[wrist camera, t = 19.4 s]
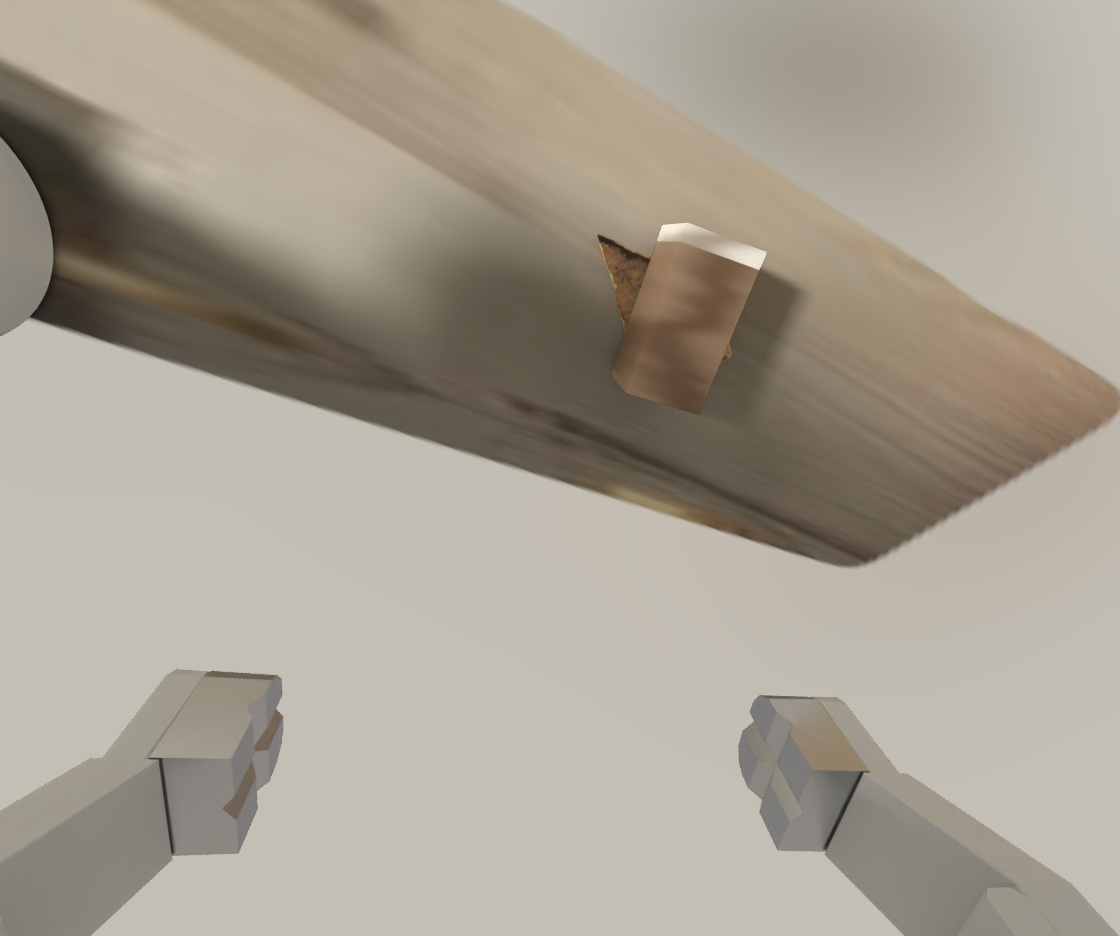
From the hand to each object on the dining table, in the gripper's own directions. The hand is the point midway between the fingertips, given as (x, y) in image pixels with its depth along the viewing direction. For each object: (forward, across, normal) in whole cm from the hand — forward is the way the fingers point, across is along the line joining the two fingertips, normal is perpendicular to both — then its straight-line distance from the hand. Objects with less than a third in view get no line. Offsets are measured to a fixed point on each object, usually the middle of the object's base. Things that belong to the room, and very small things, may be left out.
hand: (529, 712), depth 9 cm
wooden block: (+28, -10, 0) cm, 29 cm away
